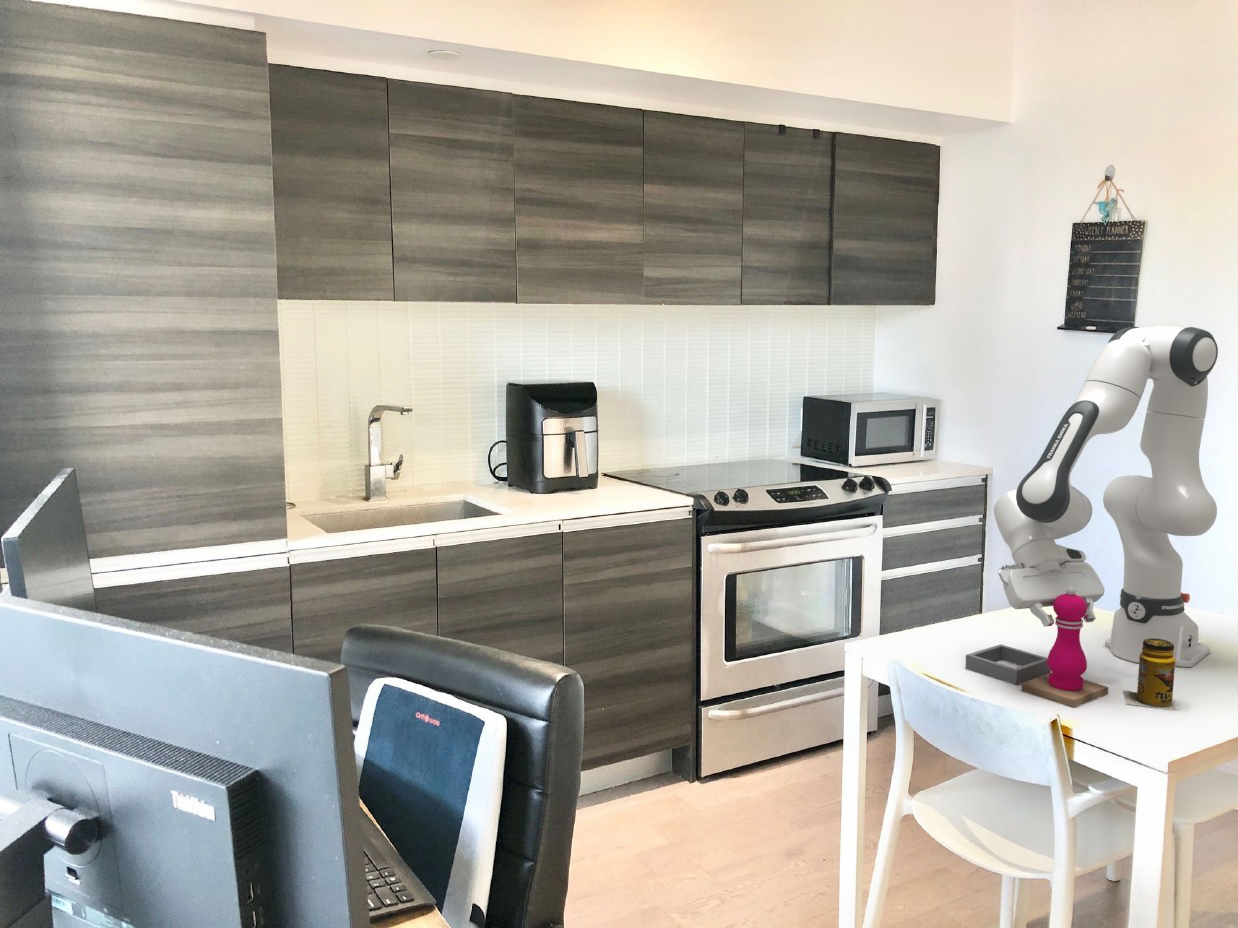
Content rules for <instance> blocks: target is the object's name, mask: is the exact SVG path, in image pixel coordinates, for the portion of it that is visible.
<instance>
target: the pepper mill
mask: <svg viewBox="0 0 1238 928" xmlns="http://www.w3.org/2000/svg"><path fill="white" fill-rule="evenodd" d="M1066 593H1067V594H1062V595H1060V596H1058V597H1057V598H1056V599H1055V601H1054V604H1053V606H1052V607H1053V608H1052V609H1053V611H1054V613H1055V614H1056V617H1055V618H1054V622H1055V623H1054V624H1055V625H1056V627H1057V632H1056V633H1057V634H1056V639H1055V641H1054V643H1053V645H1052V646H1051V649H1050V650H1049V652H1048V654H1047V657H1046V658H1047V666H1048V667H1049V669H1050V670H1051V673H1049V684H1050V685H1051V686H1053V687H1055V688H1058V689H1062V690H1071V691H1073V690H1080V689H1082V688H1083V680H1085V679H1084V677H1083V676H1082V675H1084V674H1085V673H1086V671H1087V669H1088V664H1087V663H1088V661H1087V656H1086V655H1085V652H1084V650H1083V648H1082V645H1081V640H1080V638H1081V635H1080V634H1081V630H1082V628H1083V627H1084V619H1083V616H1084V615H1085V614H1086V612H1087V605H1086V602H1085V601H1084V599H1083V598H1082V597H1080V596H1078V595H1076V594H1075V593H1076V589H1075V588H1074V587H1072V586H1069V587H1067V589H1066Z"/></svg>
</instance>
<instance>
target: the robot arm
mask: <svg viewBox="0 0 1238 928" xmlns="http://www.w3.org/2000/svg"><path fill="white" fill-rule="evenodd" d="M1218 355H1219V349H1218V345H1217V341H1216V339H1215V338H1214V335H1213V334H1212V333H1211V332H1209V331H1207V330H1205V329H1202V328H1198V327H1194V326H1193V327H1192V326H1189V327H1184V326H1177V325H1164V324H1163V325H1158V326H1157V325H1156V326H1154V325H1153V326H1152V325H1151V326H1142V327H1141V326H1140V327H1139V326H1130V327H1125V328H1122V329H1119V330H1117V331H1116V332H1115V333H1114V334H1113V335H1112V336H1111V337H1110V339H1109V340H1108V342H1107V344H1105V346H1104V347H1103V349H1102V350H1101V351H1100V352H1099V354H1098V356H1097V358H1096V359H1095V361H1094V362H1093V364H1092V366H1091V367H1090V369H1089V372H1087V373H1088V374H1087V375H1086V378H1085V379H1084V382H1083V385H1082V387H1081V389H1080V391H1079V393H1078V395H1077V397H1076V399H1075V400H1074V402H1073V404H1071V406H1070V407H1069V408H1068V409H1067V410H1066V412H1065V413H1064V415H1062V417H1061V419H1060V421H1059V422H1058V425H1057V426H1056V428H1055V430H1054V432H1053V434H1052V436H1051V437H1050V439H1049V441H1048V443H1047V445H1046V447H1045V449H1044V450H1043V452H1042V454H1041V455H1040V458H1039V459H1038V461H1037V462H1036V463H1035V465H1034V466H1033V468H1031V470H1029V471H1028V473H1027V474H1026V475H1025V476H1024V477H1023V478H1022V480H1021V481H1020V482H1019V484H1018V486H1017V488H1015V489H1012V490H1011V489H1010V490H1009V491H1006V492H1005V493H1004V494H1002V495H1001V496H1000V497H999V498H998V499H997V500H996V502H995V504H994V507H993V516H994V518H995V519H994V520H995V523H996V525H997V528H998V530H999V533H1000V534H1001V537H1002V540H1003V541H1004V543H1005V544H1006V545H1007V547H1009V549H1010V552H1011V557H1012V559H1013V562H1014V563H1013V564H1003V565H1002V566H1001V567H1000V568H999V569H998V573H997V574H998V576H999V578H1000V580H1001V582H1002V586H1003V589H1004V594H1005V596H1006V599H1007V602H1008V604H1009V605H1010V606H1011V607H1012V608H1013V609H1015V610H1025V609H1029V611H1030V612H1031V614H1032V615H1033V616H1035V617H1036V618H1037V619H1038V620H1040V622H1041V624H1042V626H1043V627H1052V626H1053V625H1054V624H1055V622H1056V621H1055V618H1054V617H1053V615H1052V614H1048V613H1047V612H1046V611H1045V610H1044V609H1043V608H1046V607H1053V604H1054V601H1055V599H1056V598H1057V597H1058V596H1060V595H1062V594H1067V593H1066V589H1067V587H1069V586H1072V587H1074V588H1075V589H1076V593H1075V594H1076V595H1078V596H1080V597H1082V598H1083V599H1084V601H1085V602H1086V605H1087V612H1086V614H1085V615H1084V616H1083V617H1082V620H1083V622H1084V623H1094V621H1095V620H1096V619H1097V616H1096V614H1095V613H1094V605H1095V604H1094V603H1096V602H1098V601H1099V600H1100V599H1101V598H1102V597H1103V596H1104V594H1105V586H1104V584H1103V582H1102V581H1101V579H1100V577H1099V575H1098V573H1097V572H1096V571H1095V568H1093V567H1092V565H1090V564H1089V563H1088V562H1085V561H1086V560H1087V556H1086V554H1085V552H1084V551H1083V550H1080V549H1076V548H1075V549H1074V548H1070V547H1067V546H1064V545H1061V544H1057V543H1056V541H1055V540H1059V539H1061V538H1065V537H1068V536H1071V535H1072V534H1073V535H1074V534H1076V533H1078V532H1080V531H1082V530H1083V529H1084V528H1085V527H1086V526H1087V525H1088V524H1089V522H1090V520H1091V518H1092V514H1093V507H1092V503H1091V501H1090V499H1089V498H1088V497H1087V496H1086V495H1085V494H1084V493H1082V492H1081V491H1080V490H1079V489H1077V488H1076V487H1074V486H1073V485H1072V484H1071V473H1072V471H1073V469H1074V468H1075V466H1076V464H1077V462H1078V460H1079V458H1080V456H1081V454H1082V453H1083V451H1084V448H1085V447H1086V446H1087V443H1088V442H1089V441H1090V440H1091V439H1092V438H1093V437H1095V436H1097V435H1109V434H1113V433H1116V432H1119V431H1121V430H1123V429H1124V428H1126V426H1128V424H1129V423H1130V422H1131V420H1132V419H1133V417H1134V415H1135V413H1136V411H1137V409H1138V406H1139V404H1140V402H1141V399H1142V397H1143V394H1144V392H1145V388H1146V386H1147V384H1148V380H1152V383H1153V387H1152V390H1151V392H1150V395H1149V399H1148V402H1147V403H1148V404H1147V408H1146V413H1145V417H1144V423H1143V427H1142V432H1141V437H1140V443H1139V445H1140V446H1139V447H1140V450H1141V452H1142V453H1143V455H1144V456H1146V458H1147V459H1148V462H1149V464H1150V468H1151V477H1150V476H1144V475H1140V474H1139V475H1138V474H1137V475H1136V474H1135V475H1134V474H1133V475H1122V476H1117V477H1115V478H1114V479H1112V480H1110V482H1108V484H1107V485H1106V487H1105V489H1104V492H1103V495H1102V496H1103V497H1102V503H1103V506H1104V509H1105V511H1106V512H1107V513H1108V515H1109V516H1110V517H1111V518H1112V520H1113V522H1114V524H1115V526H1116V529H1117V532H1118V534H1119V536H1120V540H1121V544H1122V550H1123V558H1124V560H1123V561H1124V564H1123V567H1124V568H1123V587H1122V588H1121V590H1120V594H1119V600H1120V601H1119V606H1120V608H1118V609H1117V610H1115V611H1114V613H1113V618H1112V626H1111V630H1110V631H1111V633H1110V639H1106V640H1105V641H1104V645H1105V646H1106V647H1107V648H1109V650H1110V651H1111V652H1110V653H1112V654H1113V655H1114V656H1117V657H1119V658H1121V659H1123V660H1126V661H1129V662H1134V663H1137V664H1139V657H1140V654H1141V653H1142V647H1143V641H1144V640H1145V639H1149V638H1156V639H1163V640H1166V641H1169V642H1171V643H1173V645H1174V651H1173V652H1174V654H1173V657H1174V658H1175V667H1185V668H1192V667H1194V666H1195V665H1196V664H1198V662H1200V661H1201V660H1202V659H1203V658H1205V656H1207V655H1208V654H1209V653H1210V650H1211V649H1210V647H1209V646H1208V645H1205V644H1204V643H1201V642H1199V626H1198V624H1197V623H1196V622H1195V621H1194V620H1193V619H1192V618H1191V617H1190V616H1189V615H1188V614H1187V613H1186V612H1185V604H1188V603H1189V602H1190V599H1191V595H1190V594H1189V593H1187V592H1186V593H1183V592H1182V584H1183V583H1182V579H1183V569H1184V568H1183V567H1184V564H1183V560H1182V556H1181V555H1180V554H1179V552H1178V551H1176V549H1175V548H1174V547H1173V545H1172V542H1171V541H1170V539H1169V535H1170V536H1171V535H1172V536H1174V537H1175V536H1176V537H1197V536H1202V535H1204V534H1205V533H1207V532H1208V531H1209V530H1210V529H1211V528H1212V527H1213V525H1214V524H1215V521H1216V519H1217V516H1218V515H1217V514H1218V506H1217V503H1216V500H1215V498H1214V497H1213V495H1211V493H1210V492H1209V490H1207V487H1206V485H1205V483H1204V480H1203V477H1202V472H1201V467H1200V449H1201V443H1202V442H1201V441H1202V436H1203V430H1204V425H1205V421H1206V414H1207V409H1208V400H1209V399H1208V398H1209V397H1208V396H1209V395H1208V394H1209V380H1208V375H1209V374H1210V373H1211V372H1212V370H1213V369H1214V367H1215V364H1216V363H1217V361H1218Z"/></svg>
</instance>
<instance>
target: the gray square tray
mask: <svg viewBox="0 0 1238 928" xmlns="http://www.w3.org/2000/svg"><path fill="white" fill-rule="evenodd" d="M1047 658H1048V657H1045V656H1041V655H1038V654H1037V653H1036V654H1034V653H1032V652H1028V651H1025V650H1021V649H1018V648H1015V647H1012V646H1008V645H1004V644H997V645H994V646H990V647H988V648H984V649H981V650H977V651H975V652H971V653H967V654H965V670H969V671H972V672H975V673H977V674H978V673H979V674H981V675H985V676H988V677H990V678H992V679H993V678H994V679H997V680H999V681H1003V682H1005V683H1008V684H1011V685H1015V686H1017V685H1021V684H1022V683H1024V682H1027V681H1030V680H1033V679H1036V678H1039V677H1042V676H1044V675H1047V674H1050V673H1051V672H1052V671H1051V670H1050V669H1049V667H1048V666H1047ZM998 661H1005V662H1007V663H1011V664H1015V665H1018V667H1012V666H1009V665H1006V664H1002V663H999V662H998Z"/></svg>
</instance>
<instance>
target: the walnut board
mask: <svg viewBox="0 0 1238 928" xmlns="http://www.w3.org/2000/svg"><path fill="white" fill-rule="evenodd" d="M1049 674H1050V673H1049ZM1049 674H1046V675H1043V676H1040V677H1037V678H1035V679H1032V680H1029V681H1026V682H1023V683H1021V687H1020V688H1021V692H1024V693H1027V694H1030V695H1033V696H1036V697H1039V698H1043V699H1045V700H1048V701H1052V702H1055V703H1057V704H1060V705H1063V706H1067V707H1070V708H1072V709H1073V708H1076V707H1079V706H1082V705H1084V704H1086V702H1087V703H1089V702H1091V701H1094V700H1093V699H1095V700H1097V699H1099V698H1098V697H1100V698H1102V697H1104V695H1105V696H1107V695H1109V686H1107V685H1103V684H1100V683H1097V682H1093V681H1089V680H1087V679H1084V680H1083V688H1082V689H1080V690H1073V691H1071V690H1062V689H1058V688H1055V687H1053V686H1051V685H1050V684H1049ZM1106 694H1107V695H1106ZM1081 704H1082V705H1081Z"/></svg>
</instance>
